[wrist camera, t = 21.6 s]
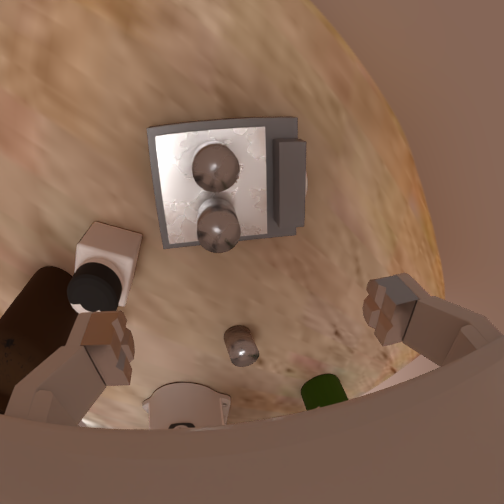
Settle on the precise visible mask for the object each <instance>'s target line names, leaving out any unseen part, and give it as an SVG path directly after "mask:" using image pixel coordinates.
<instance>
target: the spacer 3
mask: <svg viewBox="0 0 504 504" xmlns="http://www.w3.org/2000/svg"><path fill="white" fill-rule="evenodd" d="M224 341H225V344H226V347H227V350H228V353H229V356H230V359H231V362H232V363H233V364H234V365H235V366H238V367H245V366H249V365H251V364H253V363H254V362H255V361H256V360H257V359H258V357H259V351H258V349H257V346H256V344H255V342H254V340H253V337H252V335H251V333H250V331H249V329H248V328H246V327H244V326H235V327H232V328H230V329H229V330H228V331H227V332H226V333H225V335H224Z"/></svg>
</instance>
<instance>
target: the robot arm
mask: <svg viewBox="0 0 504 504" xmlns="http://www.w3.org/2000/svg"><path fill="white" fill-rule="evenodd" d="M366 290H367V292H368V294H369V295H368V296H367V297H366V299H365V300H364V303H363V316H364V318H365V321H366V323H367V324H368V326H370V327H372V328H374V329H375V332H374V334H375V336H376V337H377V339H378V340H379V342H380V343H381V345H382V346H387V345H391V344H395V343H398V342H402V341H403V342H402V343H404V344H406V345H407V346H409V347H410V348H412V349H413V350H415V351H417V352H418V353H420V354H421V355H423V356H424V357H426V358H428V359H429V360H431V361H432V362H434V363H436V364H437V365H439V366H440V367H439V368H437V369H435V370H432V371H430V372H428V373H425V374H423V375H420V376H418V377H415V378H413V379H410V380H407V381H405V382H402V383H399V384H397V385H394V386H391V387H388V388H385V389H383V390H379V391H377V392H374V393H370V394H367V395H364V396H361V397H357V398H354V399H351V400H347V401H344V402H340V403H336V404H333V405H329V406H325V407H321V408H317V409H312V410H308V411H304V412H299V413H294V414H289V415H284V416H279V417H274V418H268V419H262V420H256V421H249V422H242V423H234V424H226V423H227V418H228V413H229V408H230V403H231V397H230V396H228V395H224V394H220V393H217V392H215V391H213V390H212V389H210V388H208V387H205V386H202V385H198V384H193V383H175V384H169V385H166V386H163V387H161V388H159V389H157V390H156V391H155V392H154V393H153V395H152V396H151V398H149V399H147V400H145V401H144V402H143V403H142V406H143V409H144V410H145V411H146V412H147V413H148V414H149V429H104V428H89V427H80V426H79V425H78V424H79V422H80V421H81V420H82V418H83V417H84V416H85V414H86V413H87V412H88V410H89V409H90V408H91V406H92V405H93V404H94V402H95V401H96V400H97V399H98V397H99V396H100V395H101V393H102V392H103V391H104V389H105V388H106V386H118V385H130V381H131V374H132V368H131V365H130V362H131V361H132V360H133V359H134V353H135V348H134V340H133V336H132V333H131V331H130V330H129V329H127V328H126V323H127V319H126V317H125V314H124V312H122V311H102V312H83V313H80V314H78V316H77V319H76V321H75V323H74V326H73V328H72V330H71V333H70V335H69V338H68V340H67V343H66V345H65V346H61V347H60V348H59V349H58V350H56V351H55V352H54V353H53V354H52V355H50V356H49V357H48V358H47V359H46V360H44V361H43V362H42V363H41V364H40V365H39V366H37V367H36V368H35V369H34V370H33V371H32V372H30V373H29V374H28V375H27V376H26V377H25V378H23V379H22V380H21V381H20V382H19V383H18V384H17V385H15V387H14V390H13V392H12V395H11V397H10V400H9V403H8V406H7V408H6V411H5V414H4V415H3V414H0V504H504V335H503V334H502V333H501V332H500V331H499V330H498V329H497V328H496V327H495V326H494V325H493V324H492V323H491V322H490V321H489V320H488V319H487V318H486V317H485V316H483V315H480V314H478V313H475V312H473V311H471V310H468V309H465V308H463V307H461V306H458V305H456V304H453V303H451V302H448V301H446V300H443V299H441V298H438V297H436V296H432V297H431V296H430V295H429V294H428V293H427V292H426V291H425V290H424V289H423V288H422V287H421V286H420V285H419V284H418V283H417V282H416V281H415V280H414V279H413V278H412V277H411V276H410V275H409V274H407V273H401V274H396V275H393V276H389V277H383V278H378V279H372V280H370V281H369V282H368V284H367V289H366Z"/></svg>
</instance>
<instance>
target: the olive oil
mask: <svg viewBox="0 0 504 504" xmlns="http://www.w3.org/2000/svg"><path fill="white" fill-rule="evenodd" d="M71 279H72V277H71V276H70V275H69V274H68V273H66V272H65V271H63V270H61V269H59V268H56V267H44V268H41V269H40V270H38V271H37V272H36V273H35V274H34V276H33V277H32V278H31V279H30V281H29V282H28V283H27V285H26V286H25V287H24V288H23V290H22V291H21V292H20V294H19V295H18V296H17V297H16V299H15V300H14V301H13V303H12V304H11V305H10V307H9V308H8V309H7V311H6V312H5V313H4V315H3V316H2V317H1V319H0V414H3V415H4V414H5V411H6V408H7V406H8V403H9V400H10V397H11V395H12V392H13V390H14V387H15V385H17V384H18V383H19V382H20V381H21V380H22V379H23V378H25V377H26V376H27V375H28V374H29V373H30V372H32V371H33V370H34V369H35V368H36V367H37V366H39V365H40V364H41V363H42V362H43V361H44V360H46V359H47V358H48V357H49V356H50V355H52V354H53V353H54V352H55V351H56V350H58V349H59V348H60V347H61V346H65V345H66V343H67V340H68V338H69V335H70V333H71V330H72V328H73V326H74V323H75V321H76V319H77V316H78V314H79V313H78V312H76V311H75V309H74V308H73V307H72V305H71V304H70V302H69V300H68V296H67V287H68V284H69V282H70V280H71Z"/></svg>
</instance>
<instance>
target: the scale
mask: <svg viewBox="0 0 504 504" xmlns="http://www.w3.org/2000/svg"><path fill="white" fill-rule="evenodd" d="M263 126H264V127H265V137H266V185H267V234H259V235H249V236H240V239H239V241H243V240H252V239H262V238H272V237H282V236H292V235H296V227H303V226H304V218H305V196H306V193H307V173H306V141H303V140H301V139H298V118H297V117H247V118H228V119H214V120H203V121H192V122H183V123H174V124H167V125H159V126H152V127H149V128H147V136H148V145H149V155H150V163H151V171H152V179H153V186H154V194H155V200H156V207H157V214H158V220H159V226H160V232H161V238H162V243H163V249H169V248H178V247H187V246H196V245H201V244H200V243H199V241H193V242H184V243H175V244H169V238H168V232H167V225H166V219H165V212H164V205H163V198H162V191H161V183H160V175H159V167H158V158H157V149H156V139H155V136H158V135H165V134H173V133H181V132H190V131H200V130H211V129H224V128H240V127H263Z"/></svg>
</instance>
